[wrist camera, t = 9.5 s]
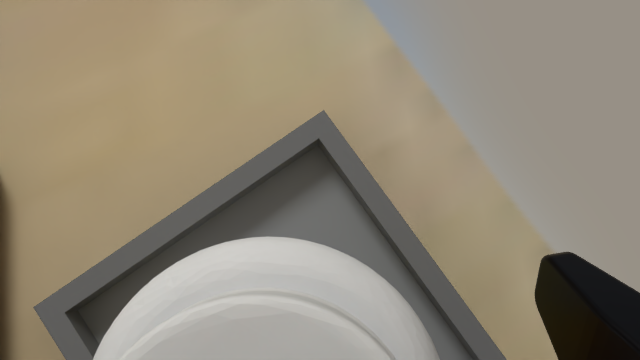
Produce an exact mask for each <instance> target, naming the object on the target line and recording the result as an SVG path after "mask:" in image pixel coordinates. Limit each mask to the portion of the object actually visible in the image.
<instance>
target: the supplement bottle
mask: <svg viewBox="0 0 640 360" xmlns="http://www.w3.org/2000/svg"><path fill="white" fill-rule="evenodd" d="M93 360H440V358H439V356H438V353H437V351H436V348H435V346H434V344H433V341H432V339H431V337H430V336H429V334H428V332H427V331H426V329H425V327H424V325H423V324H422V322H421V320H420V319H419V317H418V316H417V314H416V313H415V312H414V310H413V309H412V307H411V306H410V305H409V303H408V302H407V301H406V300H405V299H404V298H403V297H402V295H401V294H400V293H399V292H398V291H397V290H396V289H395V288H394V287H393V286H392V285H390V284H389V283H388V282H387V281H386V280H385V279H384V278H383V277H381V276H380V275H379V274H377V273H376V272H375V271H374V270H372V269H371V268H370V267H368V266H367V265H365V264H363V263H362V262H360V261H358V260H357V259H355V258H353V257H351V256H349V255H347V254H345V253H343V252H340V251H338V250H336V249H333V248H331V247H328V246H325V245H322V244H318V243H314V242H311V241H306V240H301V239H295V238H287V237H252V238H245V239H238V240H233V241H228V242H224V243H221V244H217V245H214V246H211V247H208V248H205V249H203V250H200V251H198V252H196V253H194V254H192V255H190V256H188V257H186V258H184V259H182V260H180V261H178V262H176V263H175V264H173V265H172V266H170V267H169V268H167V269H165V270H164V271H163V272H161V273H160V274H159V275H157V276H156V277H154V278H153V279H152V280H151V281H150V282H149V283H148V284H146V285H145V286H144V287H143V288H142V289H141V290H140V291H139V292H138V293H137V294H136V295H135V296H134V297H133V298H132V299H131V300H130V301H129V302H128V304H127V305H126V306H125V307H124V308H123V310H122V311H121V312H120V314H119V315H118V316H117V318H116V319H115V320H114V321H113V323H112V325H111V326H110V328H109V329H108V331H107V332H106V334H105V335H104V337H103V339H102V341H101V343H100V345H99V347H98V349H97V351H96V353H95V355H94V358H93Z"/></svg>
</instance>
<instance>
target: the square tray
mask: <svg viewBox="0 0 640 360" xmlns="http://www.w3.org/2000/svg"><path fill="white" fill-rule="evenodd" d="M252 237H287V238H295V239H301V240H306V241H311V242H314V243H318V244H322V245H325V246H328V247H331V248H333V249H336V250H338V251H340V252H343V253H345V254H347V255H349V256H351V257H353V258H355V259H357V260H358V261H360V262H362V263H363V264H365V265H367V266H368V267H370V268H371V269H372V270H374V271H375V272H376V273H377V274H379V275H380V276H381V277H383V278H384V279H385V280H386V281H387V282H388V283H389V284H390V285H392V286H393V287H394V288H395V289H396V290H397V291H398V292H399V293H400V294H401V295H402V297H403V298H404V299H405V300H406V301H407V302H408V303H409V305H410V306H411V307H412V309H413V310H414V312H415V313H416V314H417V316H418V317H419V319H420V320H421V322H422V324H423V325H424V327H425V329H426V331H427V332H428V334H429V336H430V337H431V339H432V341H433V344H434V346H435V348H436V351H437V353H438V356H439V358H440V360H506V358H505V357H504V356H503V354H502V353H501V351H500V350H499V349H498V347H497V346H496V345H495V343H494V342H493V341H492V339H491V338H490V336H489V335H488V334H487V332H486V331H485V330H484V328H483V327H482V325H481V324H480V323H479V321H478V320H477V319H476V317H475V316H474V315H473V313H472V312H471V310H470V309H469V308H468V306H467V305H466V304H465V302H464V301H463V300H462V298H461V297H460V295H459V294H458V293H457V291H456V290H455V289H454V287H453V286H452V285H451V283H450V282H449V280H448V279H447V278H446V276H445V275H444V274H443V272H442V271H441V270H440V268H439V267H438V265H437V264H436V263H435V261H434V260H433V259H432V257H431V256H430V254H429V253H428V252H427V250H426V249H425V248H424V246H423V245H422V244H421V242H420V241H419V239H418V238H417V237H416V235H415V234H414V233H413V231H412V230H411V229H410V227H409V226H408V224H407V223H406V222H405V220H404V219H403V218H402V216H401V215H400V214H399V212H398V211H397V209H396V208H395V207H394V205H393V204H392V203H391V201H390V200H389V199H388V197H387V196H386V194H385V193H384V192H383V190H382V189H381V188H380V186H379V185H378V183H377V182H376V181H375V179H374V178H373V177H372V175H371V174H370V173H369V171H368V170H367V168H366V167H365V166H364V164H363V163H362V162H361V160H360V159H359V158H358V156H357V155H356V153H355V152H354V151H353V149H352V148H351V147H350V145H349V144H348V143H347V141H346V140H345V138H344V137H343V136H342V134H341V133H340V132H339V130H338V129H337V128H336V126H335V125H334V123H333V122H332V121H331V119H330V118H329V117H328V115H327V114H326V112H325V111H324V110H323V111H322V112H320V113H319V114H317V115H316V116H314V117H313V118H311V119H310V120H308V121H307V122H305V123H304V124H302V125H301V126H300V127H298V128H297V129H295V130H294V131H292V132H291V133H289V134H288V135H286V136H285V137H283V138H282V139H280V140H279V141H277V142H276V143H274V144H273V145H272V146H270V147H269V148H267V149H266V150H264V151H263V152H261V153H260V154H258V155H257V156H255V157H254V158H252V159H251V160H249V161H248V162H247V163H245V164H244V165H242V166H241V167H239V168H238V169H236V170H235V171H233V172H232V173H230V174H229V175H227V176H226V177H224V178H223V179H221V180H220V181H219V182H217V183H216V184H214V185H213V186H211V187H210V188H208V189H207V190H205V191H204V192H202V193H201V194H199V195H198V196H196V197H195V198H194V199H192V200H191V201H189V202H188V203H186V204H185V205H183V206H182V207H180V208H179V209H177V210H176V211H174V212H173V213H171V214H170V215H168V216H167V217H166V218H164V219H163V220H161V221H160V222H158V223H157V224H155V225H154V226H152V227H151V228H149V229H148V230H146V231H145V232H143V233H142V234H140V235H139V236H138V237H136V238H135V239H133V240H132V241H130V242H129V243H127V244H126V245H124V246H123V247H121V248H120V249H118V250H117V251H115V252H114V253H113V254H111V255H110V256H108V257H107V258H105V259H104V260H102V261H101V262H99V263H98V264H96V265H95V266H93V267H92V268H90V269H89V270H87V271H86V272H85V273H83V274H82V275H80V276H79V277H77V278H76V279H74V280H73V281H71V282H70V283H68V284H67V285H65V286H64V287H62V288H61V289H60V290H58V291H57V292H55V293H54V294H52V295H51V296H49V297H48V298H46V299H45V300H43V301H42V302H40V303H39V304H37V305H36V306H34V307H33V308H34V309H35V311H36V312H37V314H38V316H39V317H40V319H41V320H42V322H43V324H44V325H45V327H46V328H47V330H48V332H49V333H50V335H51V336H52V338H53V340H54V341H55V343H56V344H57V346H58V348H59V349H60V351H61V352H62V354H63V356H64V357H65V359H66V360H93V358H94V355H95V353H96V351H97V349H98V347H99V345H100V343H101V341H102V339H103V337H104V335H105V334H106V332H107V331H108V329H109V328H110V326H111V325H112V323H113V321H114V320H115V319H116V318H117V316H118V315H119V314H120V312H121V311H122V310H123V308H124V307H125V306H126V305H127V304H128V302H129V301H130V300H131V299H132V298H133V297H134V296H135V295H136V294H137V293H138V292H139V291H140V290H141V289H142V288H143V287H144V286H145V285H146V284H148V283H149V282H150V281H151V280H152V279H153V278H154V277H156V276H157V275H159V274H160V273H161V272H163V271H164V270H165V269H167V268H169V267H170V266H172V265H173V264H175V263H176V262H178V261H180V260H182V259H184V258H186V257H188V256H190V255H192V254H194V253H196V252H198V251H200V250H203V249H205V248H208V247H211V246H214V245H217V244H221V243H224V242H228V241H233V240H238V239H245V238H252Z"/></svg>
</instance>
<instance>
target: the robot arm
mask: <svg viewBox="0 0 640 360" xmlns="http://www.w3.org/2000/svg"><path fill="white" fill-rule="evenodd" d="M535 301H536V305H537V308H538V311H539V313H540V316H541V318H542V320H543V323H544V325H545V328H546V330H547V333H548V335H549V338H550V340H551V342H552V345H553V347H554V350H555V352H556V355H557V357H558V360H640V293H639V292H637V291H636V290H634V289H633V288H631V287H629V286H627V285H626V284H624V283H623V282H621V281H619V280H617V279H616V278H614V277H612V276H611V275H609V274H608V273H606V272H604V271H603V270H601V269H599V268H598V267H596V266H594V265H593V264H591V263H589V262H587V261H586V260H584V259H583V258H581V257H579V256H577V255H576V254H574V253H571V252H562V253H556V254H550V255H546V256H544V257H543V259H542V260H541V263H540V268H539V273H538V278H537V283H536V288H535Z"/></svg>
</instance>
